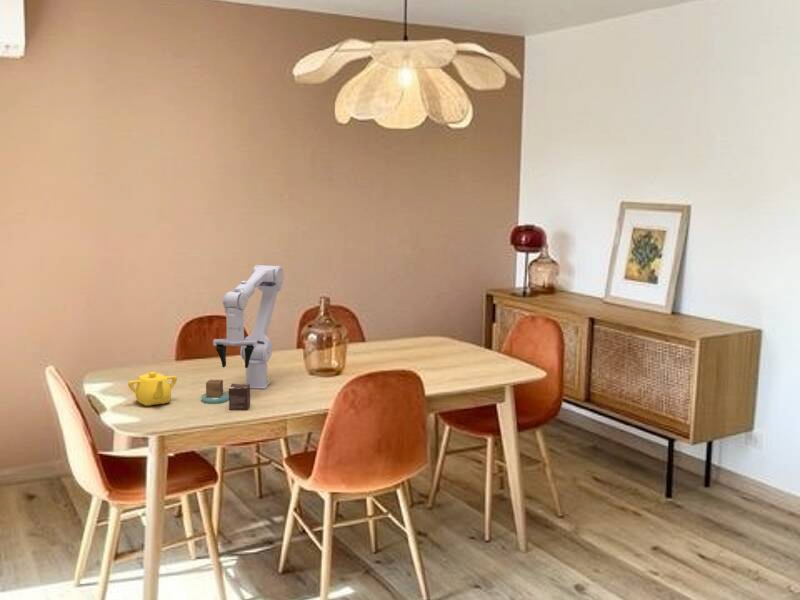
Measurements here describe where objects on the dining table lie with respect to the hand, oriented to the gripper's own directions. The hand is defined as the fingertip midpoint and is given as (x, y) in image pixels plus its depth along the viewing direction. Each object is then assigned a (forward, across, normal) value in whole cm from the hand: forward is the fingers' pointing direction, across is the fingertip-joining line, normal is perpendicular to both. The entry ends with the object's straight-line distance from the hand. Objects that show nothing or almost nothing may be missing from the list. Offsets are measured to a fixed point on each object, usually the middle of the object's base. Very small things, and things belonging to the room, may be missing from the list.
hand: (235, 366), depth 277 cm
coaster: (+11, -6, -4) cm, 13 cm away
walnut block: (+9, -6, -5) cm, 12 cm away
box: (+11, +4, -12) cm, 17 cm away
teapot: (+11, -25, -10) cm, 29 cm away
